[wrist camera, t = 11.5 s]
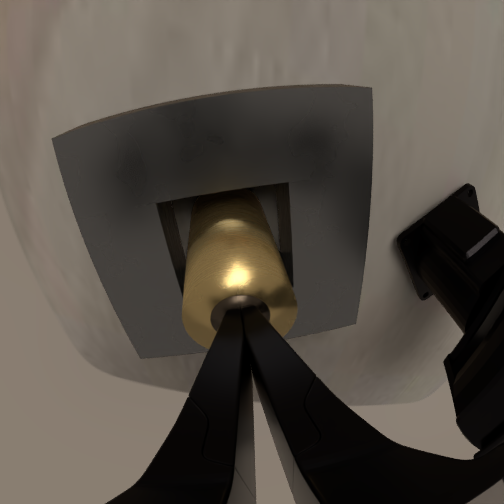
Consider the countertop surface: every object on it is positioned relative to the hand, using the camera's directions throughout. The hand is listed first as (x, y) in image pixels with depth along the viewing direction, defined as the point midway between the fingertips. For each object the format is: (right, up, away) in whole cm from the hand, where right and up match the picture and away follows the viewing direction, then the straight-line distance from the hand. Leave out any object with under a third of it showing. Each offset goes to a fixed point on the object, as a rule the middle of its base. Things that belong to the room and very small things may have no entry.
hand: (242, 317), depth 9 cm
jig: (-1, +4, +6) cm, 7 cm away
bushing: (-1, +4, +6) cm, 7 cm away
